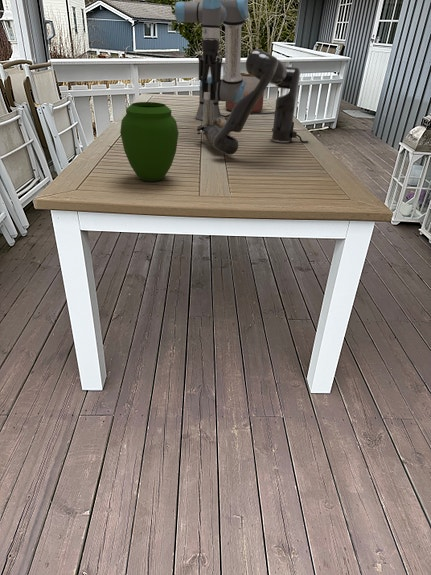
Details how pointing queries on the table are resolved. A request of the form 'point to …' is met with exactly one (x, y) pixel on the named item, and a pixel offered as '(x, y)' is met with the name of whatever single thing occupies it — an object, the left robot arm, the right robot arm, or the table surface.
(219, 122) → the seashell
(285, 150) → the table surface
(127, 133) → the vase
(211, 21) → the left robot arm
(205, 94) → the cap
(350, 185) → the table surface
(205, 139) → the bottle
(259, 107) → the planter
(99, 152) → the table surface
